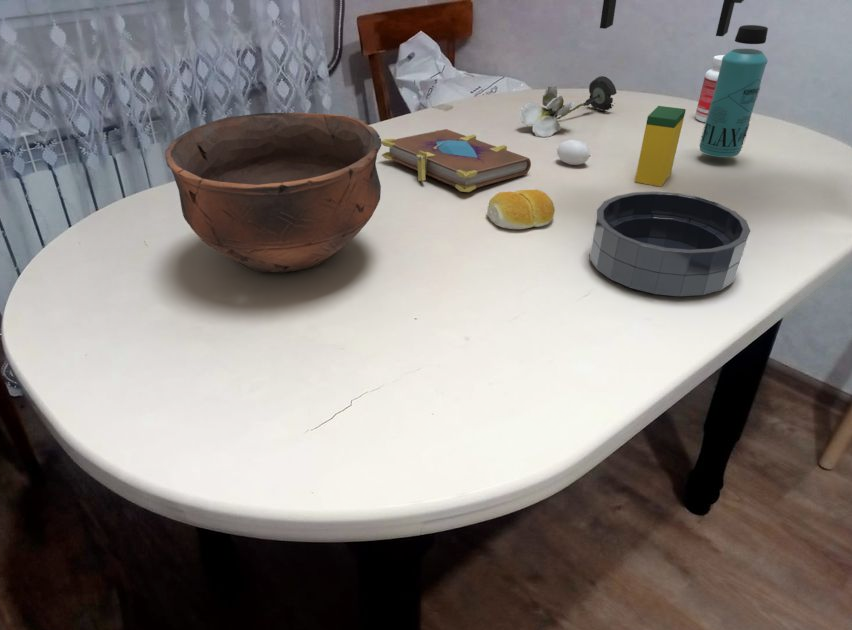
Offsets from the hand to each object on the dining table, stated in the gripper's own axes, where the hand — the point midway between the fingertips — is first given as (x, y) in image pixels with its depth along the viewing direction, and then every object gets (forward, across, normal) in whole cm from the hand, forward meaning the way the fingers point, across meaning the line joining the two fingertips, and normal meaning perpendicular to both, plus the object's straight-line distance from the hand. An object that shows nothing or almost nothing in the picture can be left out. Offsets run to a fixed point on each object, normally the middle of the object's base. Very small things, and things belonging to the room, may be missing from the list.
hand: (661, 30), depth 80 cm
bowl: (+23, -32, -36) cm, 54 cm away
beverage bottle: (+23, +6, +27) cm, 36 cm away
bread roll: (+23, -12, -11) cm, 28 cm away
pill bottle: (+23, +1, +48) cm, 54 cm away
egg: (+23, -13, +13) cm, 30 cm away
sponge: (+23, 0, +14) cm, 27 cm away
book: (+23, -31, +2) cm, 39 cm away
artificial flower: (+23, -22, +34) cm, 47 cm away
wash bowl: (+23, +8, -14) cm, 29 cm away
